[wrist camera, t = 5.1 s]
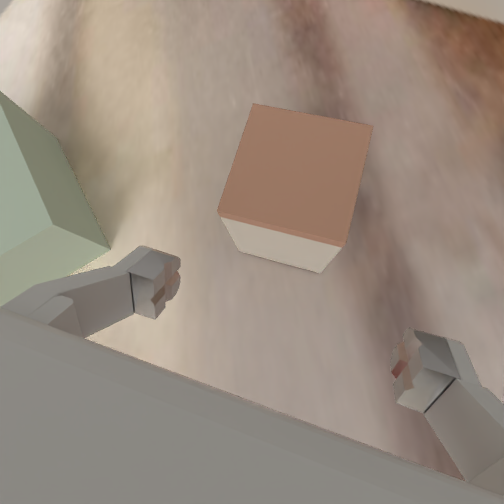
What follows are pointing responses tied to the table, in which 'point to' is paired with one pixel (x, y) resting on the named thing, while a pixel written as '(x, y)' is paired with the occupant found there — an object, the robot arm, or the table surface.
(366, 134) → the white brown-topped block
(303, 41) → the table surface
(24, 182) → the green box
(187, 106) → the table surface
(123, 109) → the table surface
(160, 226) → the table surface
